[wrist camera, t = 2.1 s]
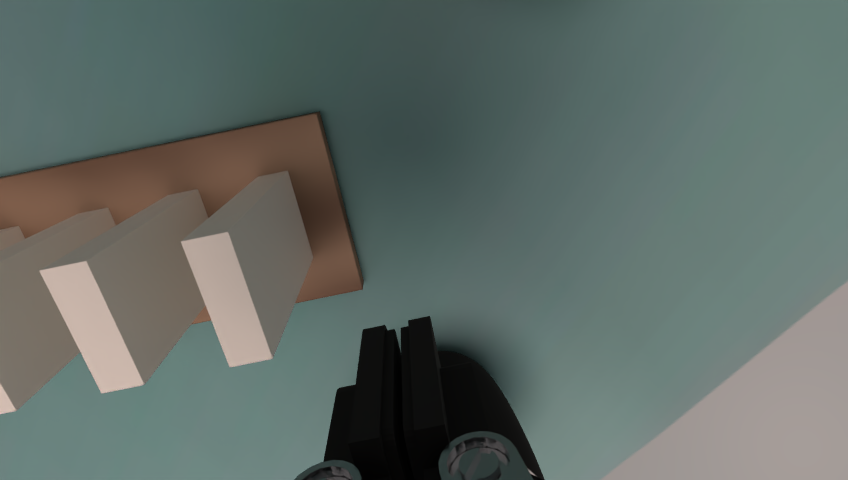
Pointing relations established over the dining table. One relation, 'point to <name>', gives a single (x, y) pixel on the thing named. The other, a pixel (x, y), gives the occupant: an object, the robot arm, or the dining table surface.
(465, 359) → the mug
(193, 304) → the tile
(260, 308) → the tile
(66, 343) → the tile
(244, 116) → the dining table surface
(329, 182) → the brown flat slab
